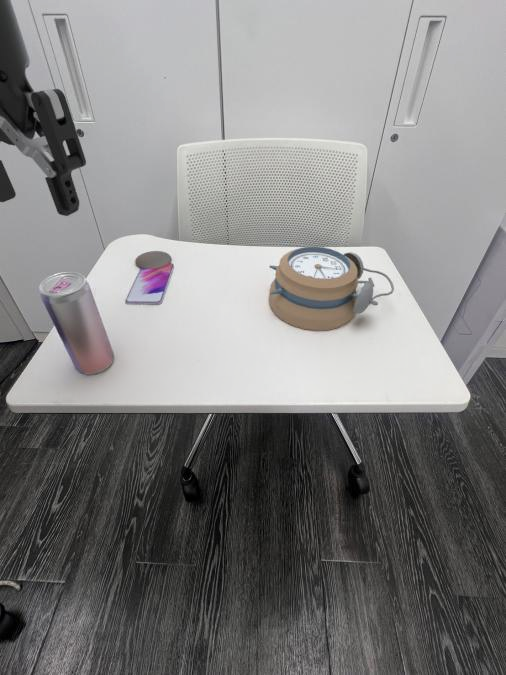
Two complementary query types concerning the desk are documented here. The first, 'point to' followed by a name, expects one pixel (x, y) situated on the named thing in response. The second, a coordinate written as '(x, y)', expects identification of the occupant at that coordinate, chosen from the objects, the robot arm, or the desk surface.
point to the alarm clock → (320, 288)
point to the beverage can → (77, 321)
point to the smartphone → (150, 286)
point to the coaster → (153, 260)
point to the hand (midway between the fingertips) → (37, 206)
